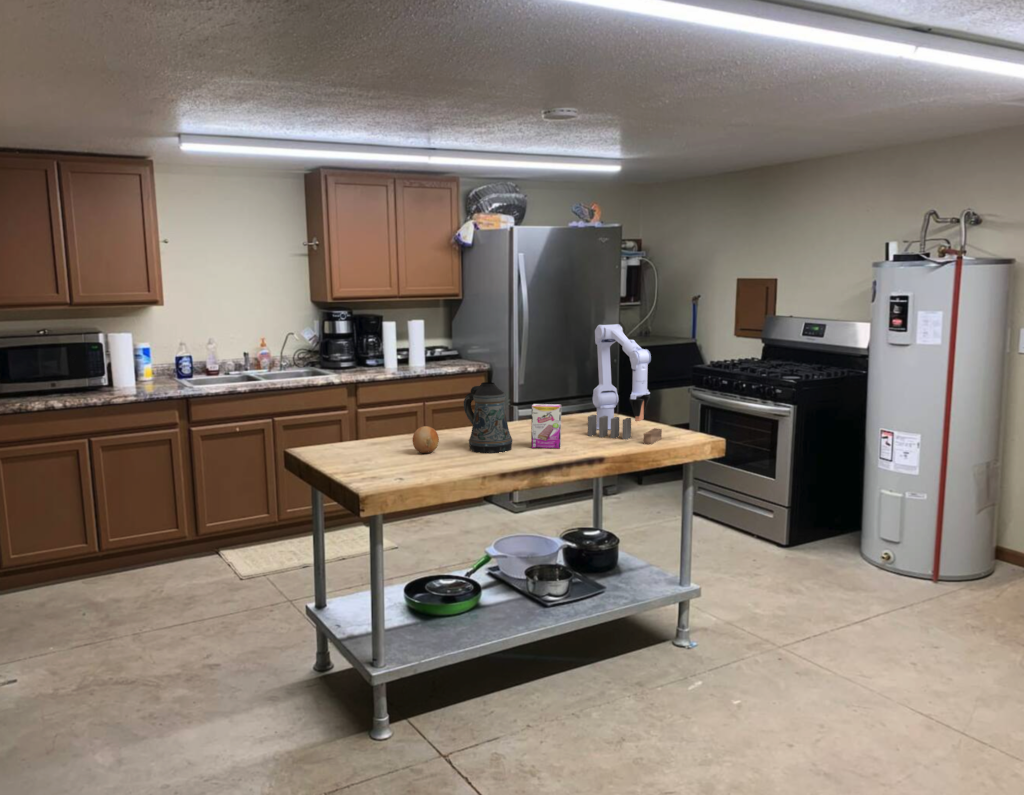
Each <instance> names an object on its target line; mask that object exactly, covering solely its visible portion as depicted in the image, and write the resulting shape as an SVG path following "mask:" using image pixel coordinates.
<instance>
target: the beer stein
mask: <svg viewBox="0 0 1024 795" xmlns="http://www.w3.org/2000/svg"><path fill="white" fill-rule="evenodd" d="M506 396H507V395H506V393H505V392H504V391H503V390H502V389H500V388H498V386H497V385H496V384H495V382H493V381H492V382H491V381H489V382H487V381H485V382H481V384H480V385H474V386H472V388H471V389H470V392H469V393H467V394H466V395H465V398H464V399H463V400H464V401H463V410H464V412H465V415H466V418H467V419H468V420H469V422H470V423H471V424H472V425H471V426H472V427H471V432H470V436H469V438H468V444H469V450H470V451H471V450H472V451H471V452H473V451H474V453H477V452H480V454H500V453H499V452H502V453H506V452H505V451H507V452H509V451H511V450H512V446H513V438H512V435H511V431H510V429H509V424H508V420H507V412H506V407H505V401H506V399H507V397H506ZM473 401H474V411H473V408H472V402H473Z"/></svg>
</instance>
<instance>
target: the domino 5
mask: <svg viewBox="0 0 1024 795" xmlns="http://www.w3.org/2000/svg"><path fill="white" fill-rule="evenodd" d="M644 415H645V414H644V401H643V403H642V406H641V412H640V416H634V418H635V419H634V420H635V422H640V421H643V420H644Z"/></svg>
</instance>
